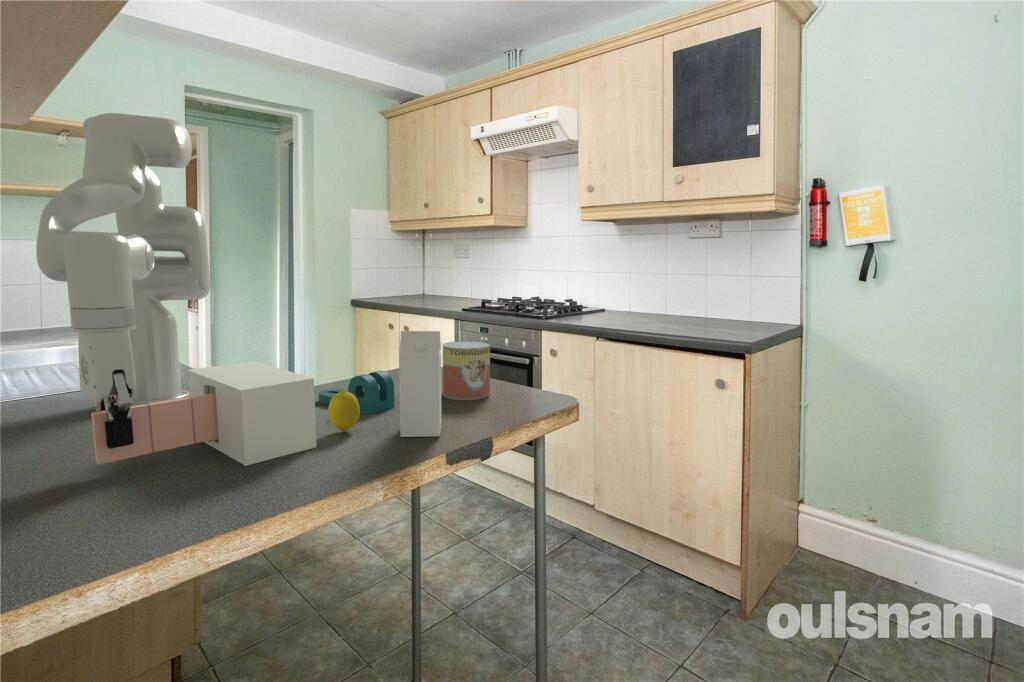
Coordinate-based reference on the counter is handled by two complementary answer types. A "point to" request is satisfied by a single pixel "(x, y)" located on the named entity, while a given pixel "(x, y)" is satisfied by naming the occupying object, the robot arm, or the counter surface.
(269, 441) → the ticket dispenser
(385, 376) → the bracket
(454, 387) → the canned food
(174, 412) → the strip
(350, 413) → the lemon
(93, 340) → the robot arm
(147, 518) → the counter surface
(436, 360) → the milk carton
